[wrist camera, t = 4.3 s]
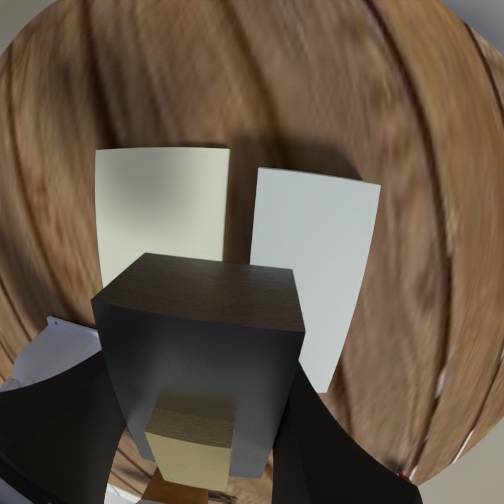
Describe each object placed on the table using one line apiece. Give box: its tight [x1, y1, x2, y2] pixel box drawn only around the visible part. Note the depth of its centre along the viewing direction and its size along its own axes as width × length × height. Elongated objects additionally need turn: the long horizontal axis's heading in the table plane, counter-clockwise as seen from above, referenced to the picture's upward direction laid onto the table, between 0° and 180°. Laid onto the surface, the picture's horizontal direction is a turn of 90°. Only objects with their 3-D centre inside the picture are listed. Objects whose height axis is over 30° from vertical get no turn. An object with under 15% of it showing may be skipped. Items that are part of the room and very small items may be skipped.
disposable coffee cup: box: [136, 466, 208, 504], centre depth 24 cm, size 10×10×12 cm
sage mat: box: [95, 147, 230, 288], centre depth 19 cm, size 10×12×1 cm
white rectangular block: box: [250, 167, 381, 392], centre depth 17 cm, size 7×16×6 cm, turn 175°
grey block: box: [91, 252, 306, 492], centre depth 8 cm, size 5×8×4 cm, turn 174°
